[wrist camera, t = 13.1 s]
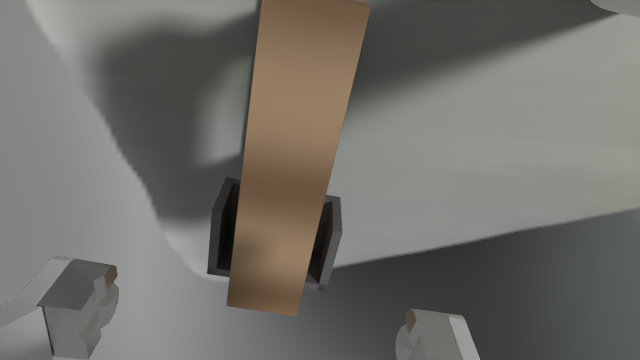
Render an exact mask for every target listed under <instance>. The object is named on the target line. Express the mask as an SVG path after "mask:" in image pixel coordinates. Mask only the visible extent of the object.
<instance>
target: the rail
mask: <svg viewBox="0 0 640 360" xmlns="http://www.w3.org/2000/svg"><path fill="white" fill-rule="evenodd" d="M370 10H371V7H370V6H369V4H368V3H367V2H366V0H262V2H261V11H260V20H259V28H258V37H257V46H256V54H255V63H254V72H253V80H252V89H251V98H250V106H249V115H248V124H247V132H246V141H245V150H244V158H243V167H242V175H241V184H240V193H239V201H238V210H237V219H236V227H235V236H234V245H233V253H232V262H231V271H230V279H229V288H228V297H227V306H230V307H237V308H244V309H251V310H258V311H265V312H272V313H278V314H285V315H292V316H296V315H297V312H298V308H299V304H300V299H301V295H302V291H303V287H304V283H305V279H306V275H307V271H308V266H309V262H310V258H311V254H312V250H313V246H314V242H315V238H316V233H317V229H318V225H319V221H320V217H321V213H322V209H323V204H324V200H325V196H326V192H327V188H328V184H329V180H330V176H331V171H332V167H333V163H334V159H335V155H336V151H337V147H338V143H339V138H340V134H341V130H342V126H343V122H344V118H345V114H346V109H347V105H348V101H349V97H350V93H351V89H352V85H353V81H354V76H355V72H356V68H357V64H358V60H359V56H360V52H361V48H362V43H363V39H364V35H365V31H366V27H367V23H368V19H369V14H370Z"/></svg>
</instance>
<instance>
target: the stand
mask: <svg viewBox="0 0 640 360" xmlns="http://www.w3.org/2000/svg"><path fill="white" fill-rule="evenodd" d="M240 184H241V180H237V179H231V178H226V179H225V181H224V184H223V186H222V188H221V191H220V193H219V196H218V198H217V200H216V203H215V205H214V207H213V210H212V218H211V231H210V244H209V257H208V270H207V274H212V275H219V276H225V277H230V271H231V262H232V253H233V245H234V236H235V227H236V219H237V210H238V201H239V193H240ZM341 235H342V219H341V203H340V197H335V196H330V195H326V196H325V200H324V204H323V209H322V213H321V217H320V221H319V225H318V229H317V233H316V238H315V242H314V246H313V250H312V254H311V258H310V262H309V266H308V271H307V275H306V279H305V283H304V287H303V288H305V289H312V290H318V291H325V292H326V289H327V285H328V282H329V278H330V274H331V271H332V267H333V264H334V260H335V257H336V253H337V249H338V246H339V242H340V239H341Z"/></svg>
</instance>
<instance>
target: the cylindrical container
mask: <svg viewBox="0 0 640 360" xmlns="http://www.w3.org/2000/svg"><path fill="white" fill-rule="evenodd" d="M590 1H591V2H592V3H593V4H594V5H596V6H598V7H599V8H602V9H605V10H608V11H612V12H617V13H621V14H626V15H630V16H635V17H639V18H640V0H590Z"/></svg>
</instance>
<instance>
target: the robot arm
mask: <svg viewBox="0 0 640 360" xmlns="http://www.w3.org/2000/svg"><path fill="white" fill-rule="evenodd" d="M116 277H117V269H116V266H114V265H109V264H103V263H97V262H91V261H85V260H80V259H71V258H66V257H60V256H55V257H53V258H51V259H50V260H49V261H48V262H47V263H46V264H45V265H44V266H43V268H42V269H41V270H40V271H39V272H38V273H37V274H36V276H35V277H34V278H33V279H32V280H31V282H30V283H29V284H28V285H27V286H26V287H25V289H23V291H22V292H21V293H20V294H19V295H18V296H17V298H16V299H15V300H14V301H13V302H5V303H3V304H0V360H51V359H53V356H57V357H68V358H77V359H89V358H90V356H91V354H92V353H93V351H94V349H95V347H96V345H97V344H98V342H99V340H100V338H101V331H100V328H102V327H103V326H105V325H107V324H108V323H109V322H110V320H111V319H112V317H113V315H114V313H115V310H116V306H117V304H118V297H119V289H118V287H117V286H116V285H115V284H114V280H115V279H116ZM405 320H406V325H404V326H403V327H401V328H400V330H399V332H398V335H397V340H396V357H397V360H480V359H479V356H478V354H477V351H476V348H475V345H474V343H473V340H472V337H471V335H470V332H469V330H468V327H467V324H466V322H465V319H464V318H463V317H462V316H460V315H453V314H446V313H445V314H443V313H438V312H432V311H424V310H417V309H410V310H409V311H408V312H407V314H406V316H405Z"/></svg>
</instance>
